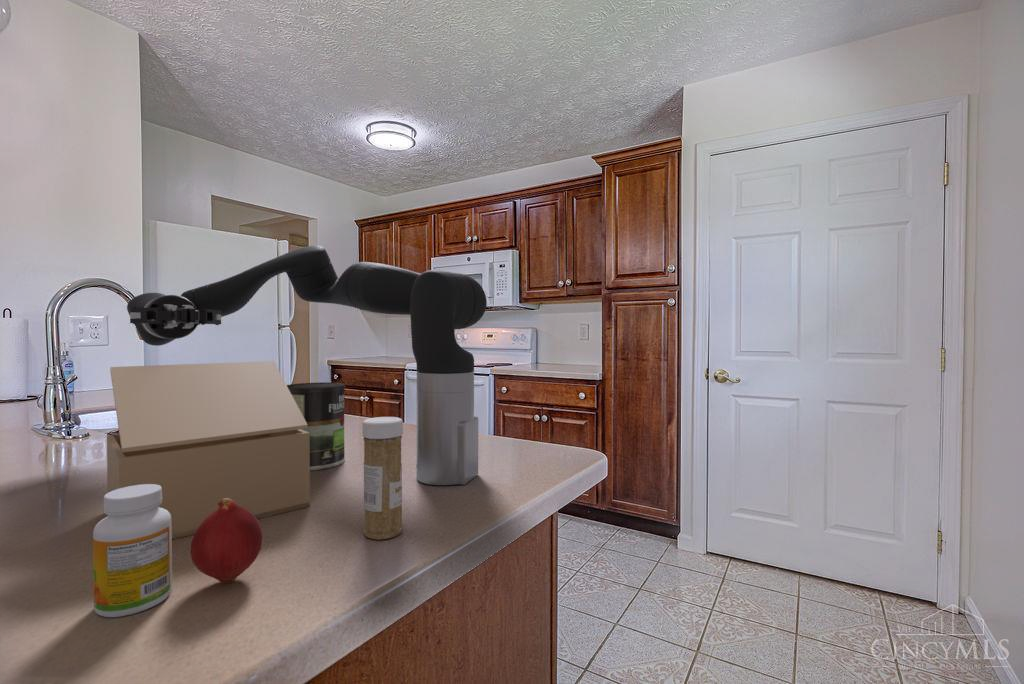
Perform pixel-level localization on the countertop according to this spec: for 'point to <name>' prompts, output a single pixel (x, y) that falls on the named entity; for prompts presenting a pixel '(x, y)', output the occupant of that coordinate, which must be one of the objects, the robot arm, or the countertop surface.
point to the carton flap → (200, 403)
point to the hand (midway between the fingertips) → (188, 315)
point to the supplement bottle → (132, 552)
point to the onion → (226, 542)
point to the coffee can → (322, 421)
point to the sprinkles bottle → (382, 477)
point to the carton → (219, 475)
